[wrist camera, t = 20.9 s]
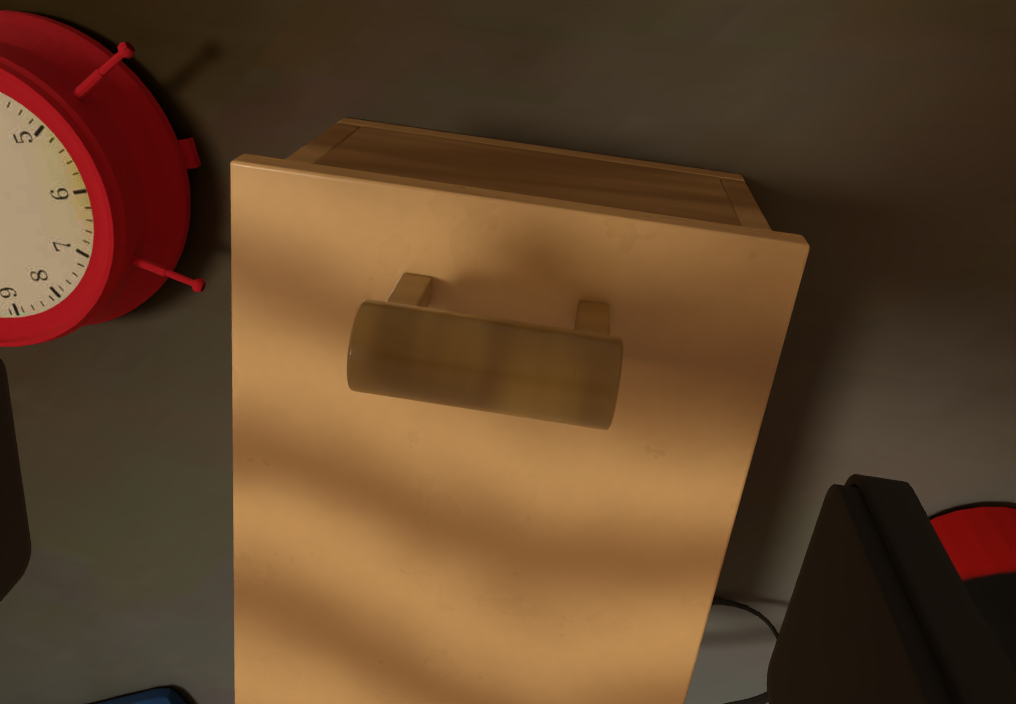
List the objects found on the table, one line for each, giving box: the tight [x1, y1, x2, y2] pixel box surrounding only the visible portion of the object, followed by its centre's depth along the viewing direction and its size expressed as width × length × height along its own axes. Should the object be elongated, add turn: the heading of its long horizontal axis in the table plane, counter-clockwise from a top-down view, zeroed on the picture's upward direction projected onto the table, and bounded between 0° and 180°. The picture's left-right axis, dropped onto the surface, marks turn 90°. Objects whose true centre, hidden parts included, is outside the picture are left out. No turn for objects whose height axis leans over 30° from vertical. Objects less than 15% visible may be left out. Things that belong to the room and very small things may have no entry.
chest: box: [285, 118, 772, 231], centre depth 28 cm, size 16×13×9 cm
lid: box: [231, 154, 810, 704], centre depth 21 cm, size 16×13×5 cm
